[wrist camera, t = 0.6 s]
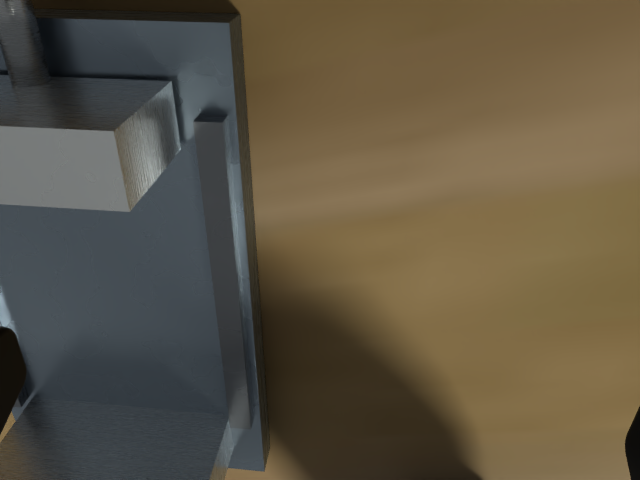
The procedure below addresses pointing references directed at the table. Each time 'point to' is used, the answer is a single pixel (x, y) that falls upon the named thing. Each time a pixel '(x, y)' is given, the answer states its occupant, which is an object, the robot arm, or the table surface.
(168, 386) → the vise
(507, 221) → the table surface
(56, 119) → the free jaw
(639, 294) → the table surface
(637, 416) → the robot arm
